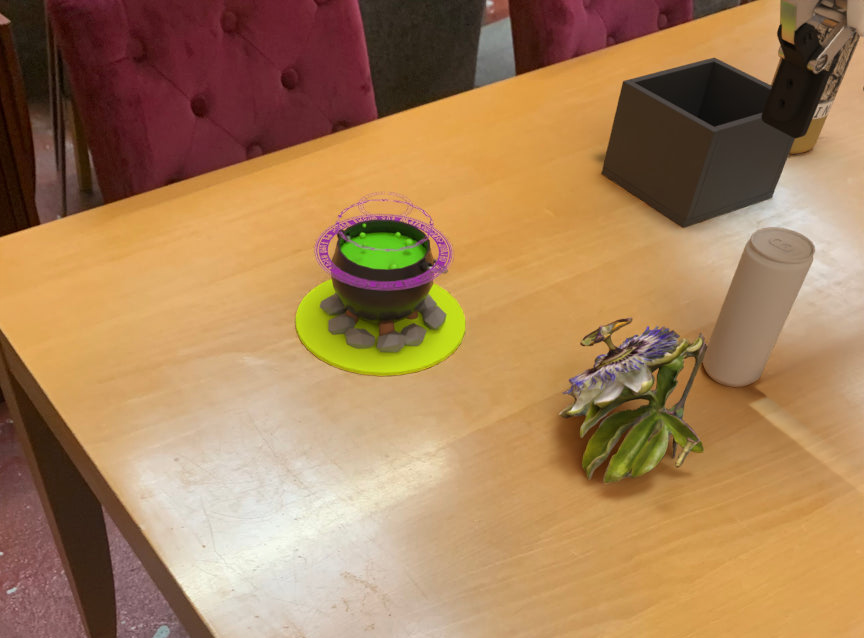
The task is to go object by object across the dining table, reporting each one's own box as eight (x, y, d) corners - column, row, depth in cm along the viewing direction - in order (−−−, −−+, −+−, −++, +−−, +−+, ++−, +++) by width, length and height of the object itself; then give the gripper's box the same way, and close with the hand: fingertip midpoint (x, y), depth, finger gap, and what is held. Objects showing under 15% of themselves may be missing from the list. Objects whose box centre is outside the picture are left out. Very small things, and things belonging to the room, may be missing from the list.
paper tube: (751, 150, 101) (845, -113, 82) (753, 124, 105) (843, -131, 86) (814, 160, 99) (925, -105, 80) (814, 134, 103) (919, -124, 85)
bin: (687, 147, 101) (714, 57, 94) (772, 197, 94) (809, 103, 86) (601, 173, 97) (622, 80, 89) (683, 227, 89) (714, 131, 82)
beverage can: (734, 398, 72) (790, 269, 63) (687, 367, 75) (735, 238, 66) (771, 376, 74) (831, 247, 65) (724, 346, 77) (775, 219, 68)
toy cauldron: (496, 309, 80) (514, 194, 72) (407, 399, 71) (417, 281, 63) (357, 255, 85) (359, 143, 77) (260, 333, 77) (251, 217, 69)
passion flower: (572, 460, 75) (607, 317, 72) (705, 494, 69) (748, 340, 67) (525, 468, 65) (563, 302, 62) (675, 508, 60) (724, 329, 57)
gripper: (932, -195, 40) (785, 167, 53) (1145, -220, 46) (968, 111, 59) (802, -224, 45) (695, 117, 57) (1012, -243, 51) (874, 69, 63)
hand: (834, 114), depth 58 cm, fingers open, 9 cm apart
